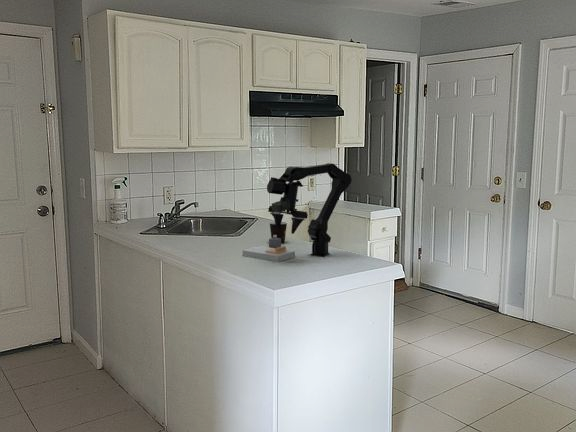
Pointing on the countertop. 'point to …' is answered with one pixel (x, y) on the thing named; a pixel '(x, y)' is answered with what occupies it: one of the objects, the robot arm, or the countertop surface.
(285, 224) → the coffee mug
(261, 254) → the socket plate
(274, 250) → the shutter
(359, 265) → the countertop surface
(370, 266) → the countertop surface
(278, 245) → the plug
